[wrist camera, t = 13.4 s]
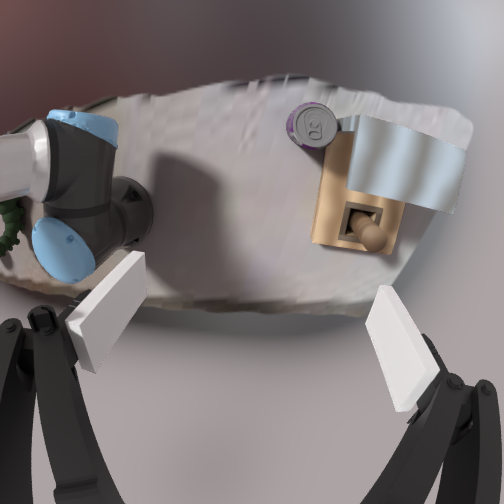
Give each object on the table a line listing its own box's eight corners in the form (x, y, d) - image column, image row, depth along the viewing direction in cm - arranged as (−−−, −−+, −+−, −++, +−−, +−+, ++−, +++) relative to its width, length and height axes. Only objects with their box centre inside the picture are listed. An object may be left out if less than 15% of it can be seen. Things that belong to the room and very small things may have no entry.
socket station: (310, 234, 54) (325, 287, 36) (329, 120, 45) (360, 114, 27) (384, 246, 53) (424, 298, 36) (408, 141, 44) (467, 151, 27)
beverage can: (323, 148, 47) (337, 153, 36) (284, 144, 47) (287, 147, 36) (327, 111, 44) (342, 105, 33) (287, 106, 44) (291, 97, 34)
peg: (348, 206, 51) (366, 226, 40) (367, 209, 51) (389, 230, 40) (344, 225, 52) (360, 250, 42) (363, 229, 52) (383, 254, 41)
